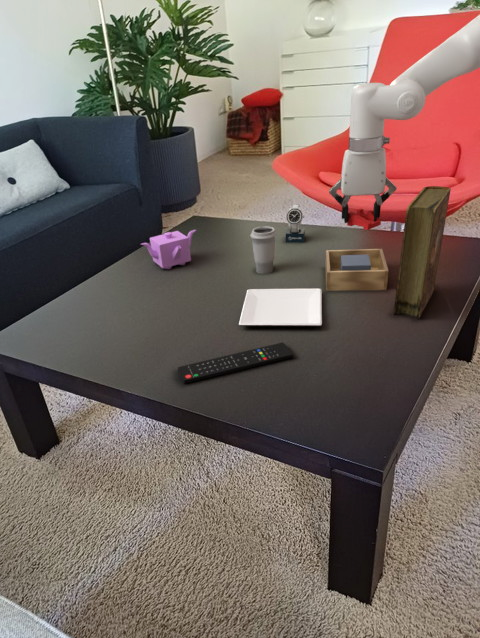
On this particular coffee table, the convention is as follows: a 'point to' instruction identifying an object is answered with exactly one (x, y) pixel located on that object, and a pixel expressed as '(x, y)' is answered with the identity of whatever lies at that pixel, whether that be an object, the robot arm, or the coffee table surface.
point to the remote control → (233, 362)
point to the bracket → (363, 219)
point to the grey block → (355, 262)
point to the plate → (282, 307)
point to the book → (421, 250)
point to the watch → (295, 225)
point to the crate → (359, 278)
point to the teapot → (170, 249)
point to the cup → (263, 248)
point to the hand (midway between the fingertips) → (360, 220)
